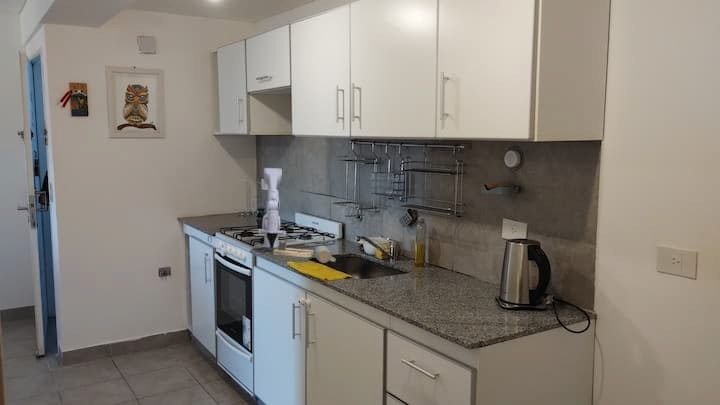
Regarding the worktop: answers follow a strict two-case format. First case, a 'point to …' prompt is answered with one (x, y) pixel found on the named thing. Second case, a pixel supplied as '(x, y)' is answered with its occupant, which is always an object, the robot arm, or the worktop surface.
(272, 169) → the robot arm
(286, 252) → the fader console
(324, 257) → the ceramic mug
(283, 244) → the fader knob
